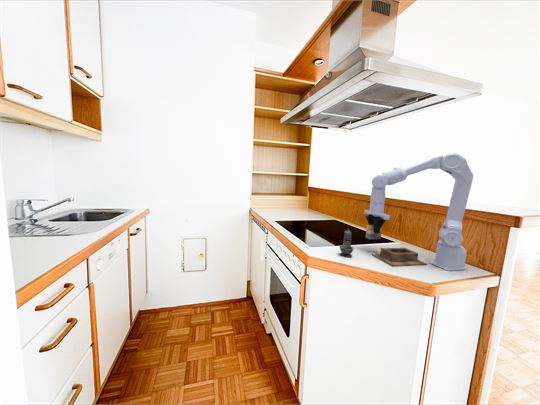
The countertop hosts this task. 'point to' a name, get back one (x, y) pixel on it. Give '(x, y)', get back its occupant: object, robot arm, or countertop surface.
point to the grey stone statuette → (346, 245)
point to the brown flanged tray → (399, 257)
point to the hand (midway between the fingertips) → (374, 232)
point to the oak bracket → (372, 233)
